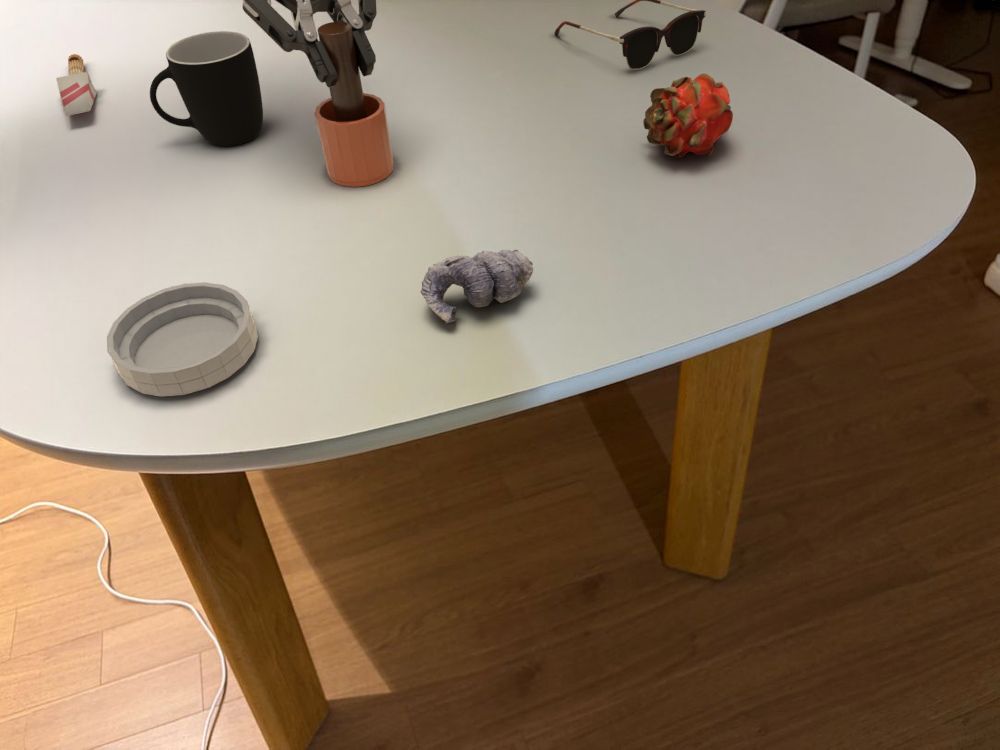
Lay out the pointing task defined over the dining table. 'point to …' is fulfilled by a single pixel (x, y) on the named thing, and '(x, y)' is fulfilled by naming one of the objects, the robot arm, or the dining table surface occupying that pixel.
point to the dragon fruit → (688, 115)
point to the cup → (356, 144)
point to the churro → (76, 88)
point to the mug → (215, 86)
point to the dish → (182, 339)
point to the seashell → (476, 279)
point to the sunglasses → (654, 36)
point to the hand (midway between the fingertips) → (351, 76)
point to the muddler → (344, 71)
